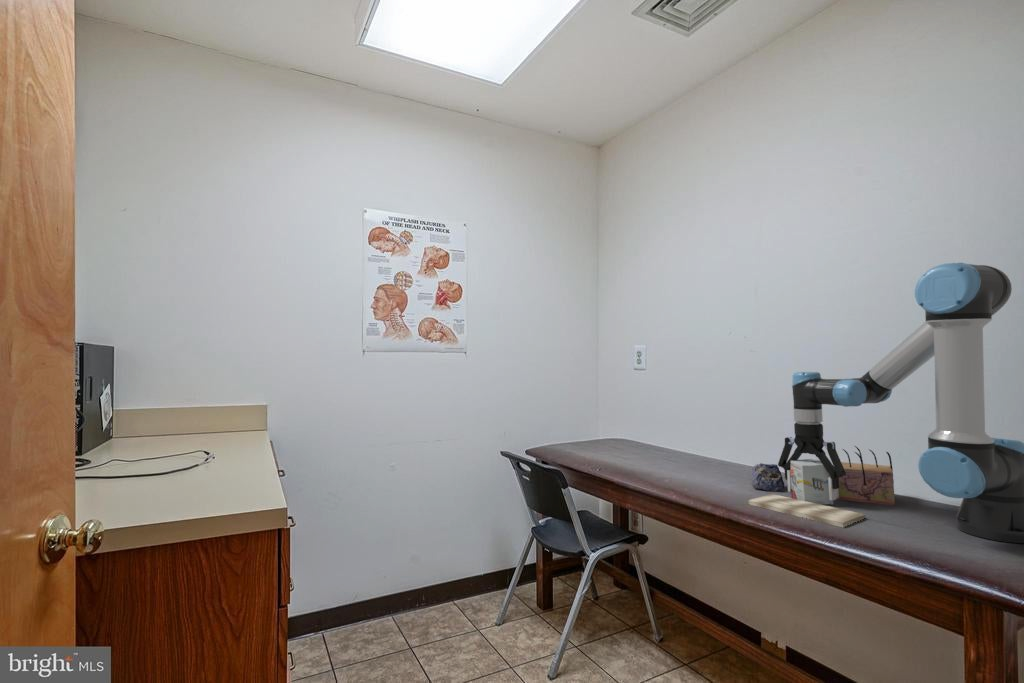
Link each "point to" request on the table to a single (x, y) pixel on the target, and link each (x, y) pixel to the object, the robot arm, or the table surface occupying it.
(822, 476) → the ink box
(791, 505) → the board
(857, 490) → the anatomical model
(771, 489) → the rock
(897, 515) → the table surface
